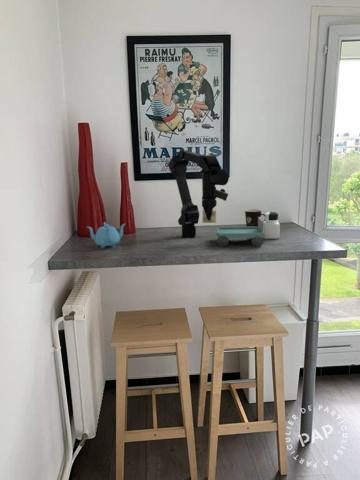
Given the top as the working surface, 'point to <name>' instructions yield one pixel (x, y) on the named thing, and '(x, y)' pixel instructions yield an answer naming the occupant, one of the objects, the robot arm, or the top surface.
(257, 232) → the teal toy wagon
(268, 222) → the medicine bottle
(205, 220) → the block
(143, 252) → the top surface
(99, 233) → the teapot
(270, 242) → the top surface
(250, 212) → the coffee mug
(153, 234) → the top surface
